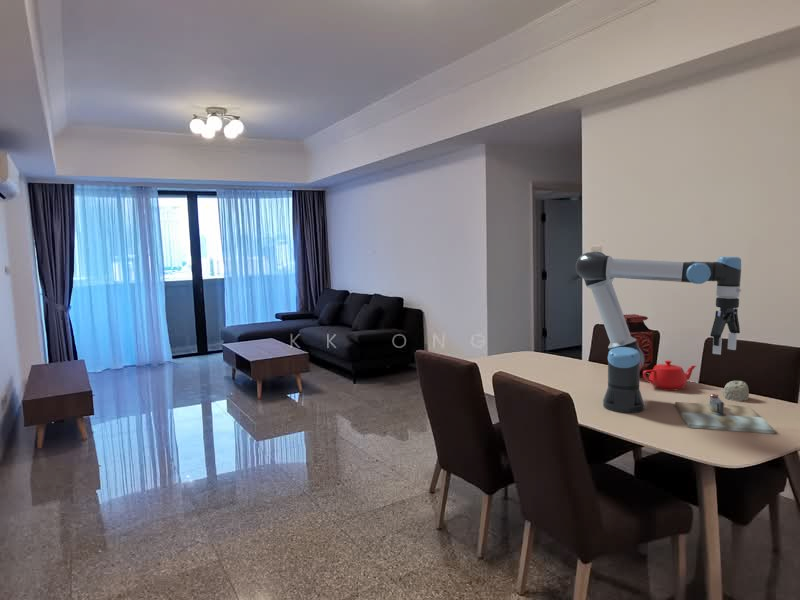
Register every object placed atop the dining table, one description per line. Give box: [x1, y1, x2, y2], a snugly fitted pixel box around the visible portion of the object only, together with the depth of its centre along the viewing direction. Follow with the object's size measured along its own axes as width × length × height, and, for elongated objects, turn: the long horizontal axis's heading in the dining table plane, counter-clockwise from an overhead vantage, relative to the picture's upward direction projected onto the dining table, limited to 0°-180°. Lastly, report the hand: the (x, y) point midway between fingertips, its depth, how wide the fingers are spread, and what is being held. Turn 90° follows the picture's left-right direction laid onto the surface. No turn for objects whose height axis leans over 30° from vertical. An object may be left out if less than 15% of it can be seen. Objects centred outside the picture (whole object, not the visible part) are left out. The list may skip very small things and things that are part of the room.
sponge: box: [722, 380, 750, 402], centre depth 218 cm, size 9×10×10 cm
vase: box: [623, 313, 654, 378], centre depth 260 cm, size 14×14×30 cm
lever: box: [709, 393, 725, 413], centre depth 200 cm, size 3×11×4 cm, turn 161°
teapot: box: [642, 360, 697, 391], centre depth 238 cm, size 25×16×12 cm, turn 93°
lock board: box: [675, 401, 776, 434], centre depth 194 cm, size 26×28×6 cm
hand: (724, 351), depth 203 cm, fingers open, 13 cm apart
